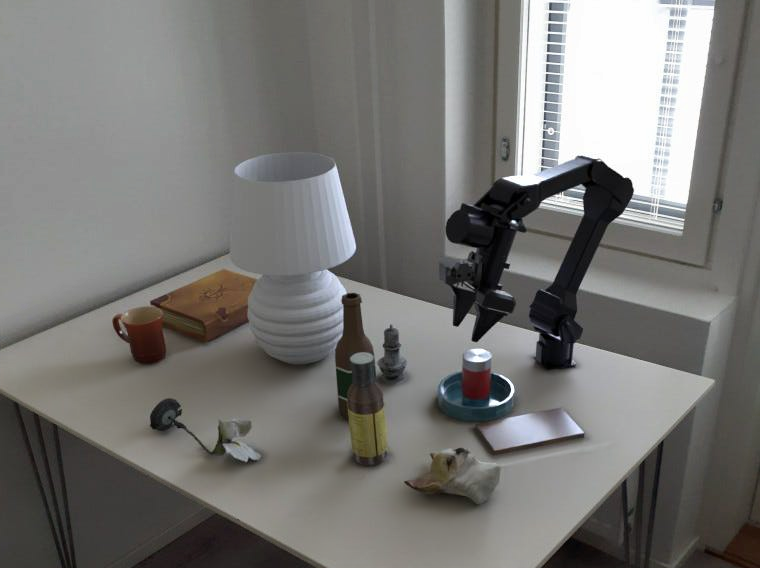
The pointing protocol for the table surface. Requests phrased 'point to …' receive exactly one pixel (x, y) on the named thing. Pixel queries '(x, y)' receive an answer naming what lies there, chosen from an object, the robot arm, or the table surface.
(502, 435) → the board
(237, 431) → the artificial flower
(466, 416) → the dish
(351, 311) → the beer bottle
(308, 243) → the table lamp
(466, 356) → the can
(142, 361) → the mug
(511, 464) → the table surface
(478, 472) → the ceramic sculpture
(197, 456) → the table surface
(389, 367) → the grey tall rounded piece
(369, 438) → the sauce bottle
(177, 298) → the diary
